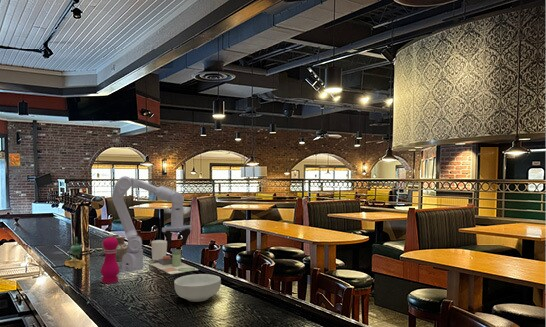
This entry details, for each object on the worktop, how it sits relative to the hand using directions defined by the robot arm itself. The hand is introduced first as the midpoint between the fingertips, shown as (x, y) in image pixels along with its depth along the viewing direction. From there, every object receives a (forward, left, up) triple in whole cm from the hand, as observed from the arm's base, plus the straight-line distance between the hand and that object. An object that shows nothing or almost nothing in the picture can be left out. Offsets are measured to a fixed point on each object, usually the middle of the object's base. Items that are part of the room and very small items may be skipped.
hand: (176, 245), depth 198 cm
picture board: (-3, 0, -11) cm, 11 cm away
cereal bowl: (-40, -31, -11) cm, 52 cm away
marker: (0, 0, -10) cm, 10 cm away
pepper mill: (-31, +14, -11) cm, 35 cm away
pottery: (+10, +42, -11) cm, 45 cm away
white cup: (+10, +16, -11) cm, 22 cm away
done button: (+2, +7, -8) cm, 11 cm away
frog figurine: (-11, +49, -11) cm, 52 cm away
